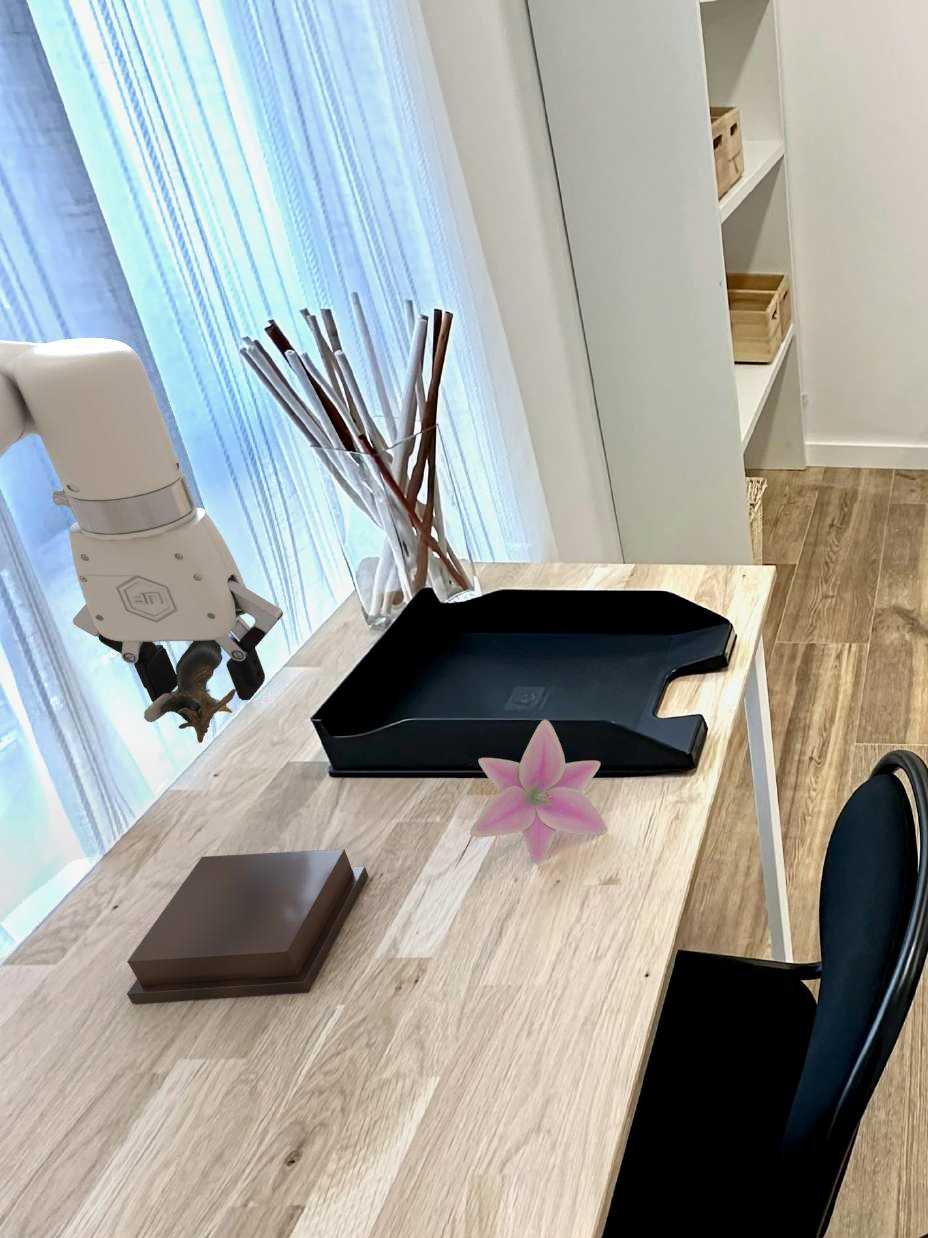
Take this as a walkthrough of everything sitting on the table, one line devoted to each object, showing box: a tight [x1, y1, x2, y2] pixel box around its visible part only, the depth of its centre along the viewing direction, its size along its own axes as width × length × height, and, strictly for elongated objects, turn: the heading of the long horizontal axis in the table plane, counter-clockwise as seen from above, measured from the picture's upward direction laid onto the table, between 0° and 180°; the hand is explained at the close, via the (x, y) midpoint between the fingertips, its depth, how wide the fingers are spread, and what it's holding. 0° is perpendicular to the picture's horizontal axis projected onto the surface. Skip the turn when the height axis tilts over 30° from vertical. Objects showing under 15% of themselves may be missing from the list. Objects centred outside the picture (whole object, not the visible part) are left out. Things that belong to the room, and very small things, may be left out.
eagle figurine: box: [143, 640, 237, 744], centre depth 93 cm, size 8×7×9 cm
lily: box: [469, 718, 608, 867], centre depth 101 cm, size 12×12×10 cm
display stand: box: [126, 848, 369, 1005], centre depth 90 cm, size 13×13×4 cm
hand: (209, 691), depth 94 cm, fingers closed on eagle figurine, 6 cm apart
